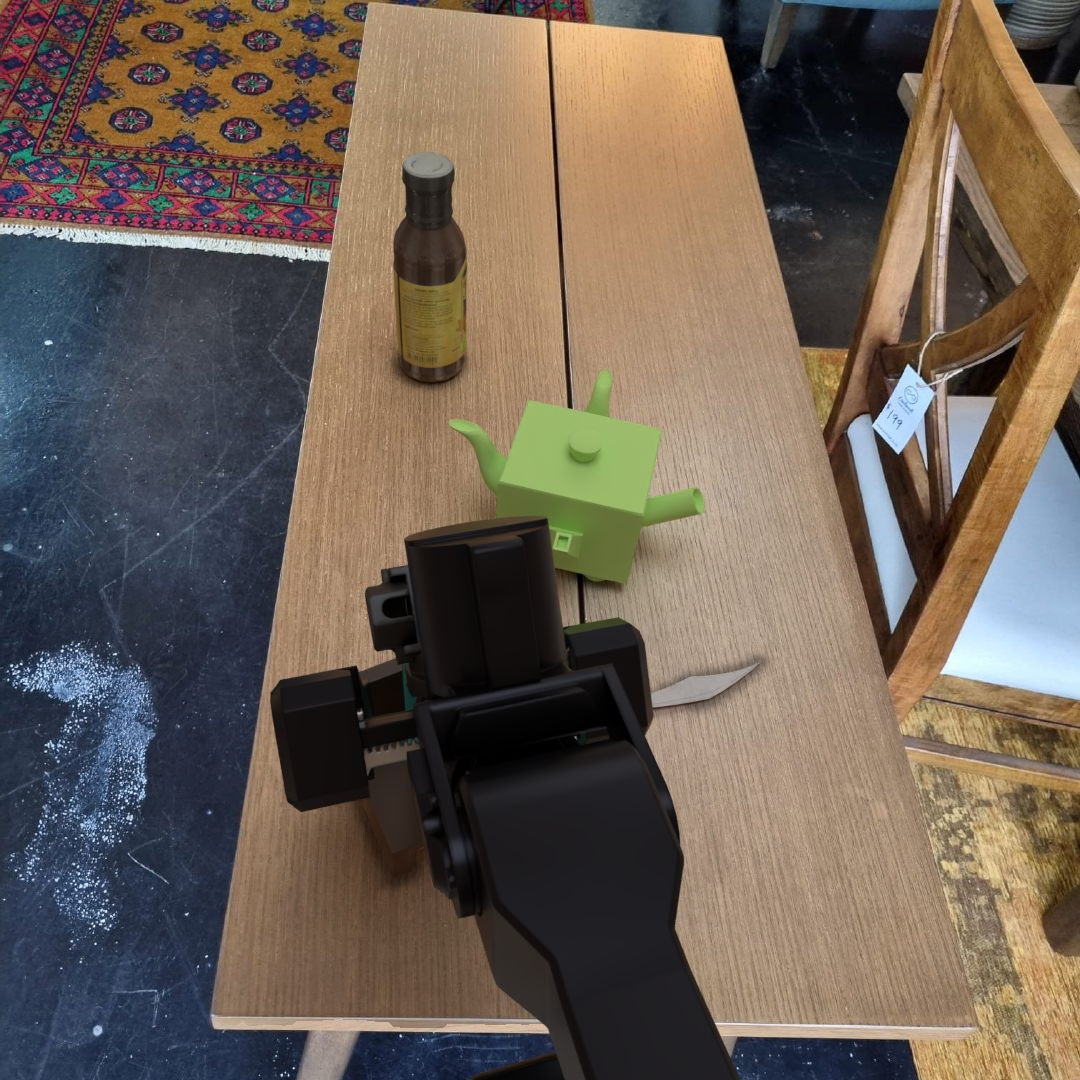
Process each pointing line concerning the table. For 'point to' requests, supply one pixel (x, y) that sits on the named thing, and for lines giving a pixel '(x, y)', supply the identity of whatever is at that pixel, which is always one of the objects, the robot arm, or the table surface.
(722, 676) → the knife
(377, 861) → the table surface
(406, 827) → the brown toy chair
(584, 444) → the kettle
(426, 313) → the sauce bottle
